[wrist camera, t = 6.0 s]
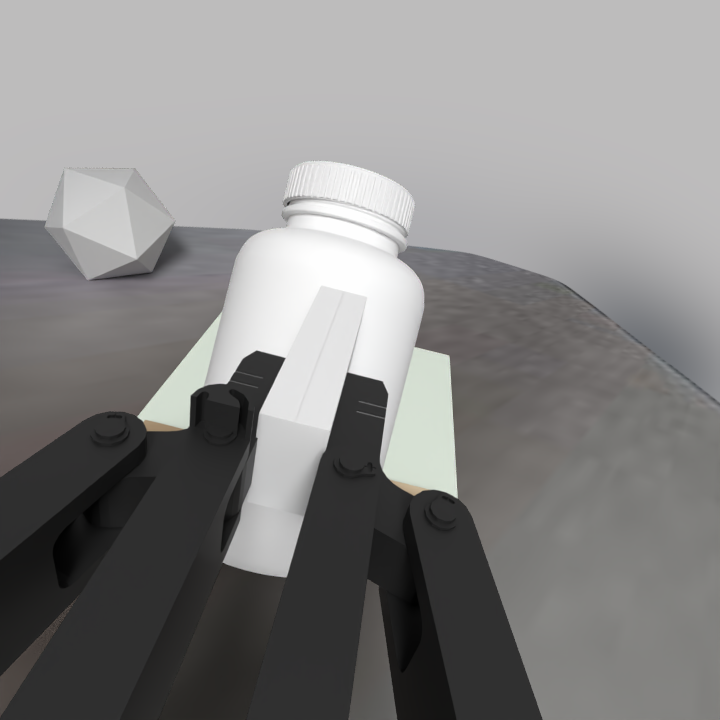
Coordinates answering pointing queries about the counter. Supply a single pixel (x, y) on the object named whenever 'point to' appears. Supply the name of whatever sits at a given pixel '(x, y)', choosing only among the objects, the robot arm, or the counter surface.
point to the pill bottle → (295, 296)
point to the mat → (411, 429)
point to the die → (108, 222)
